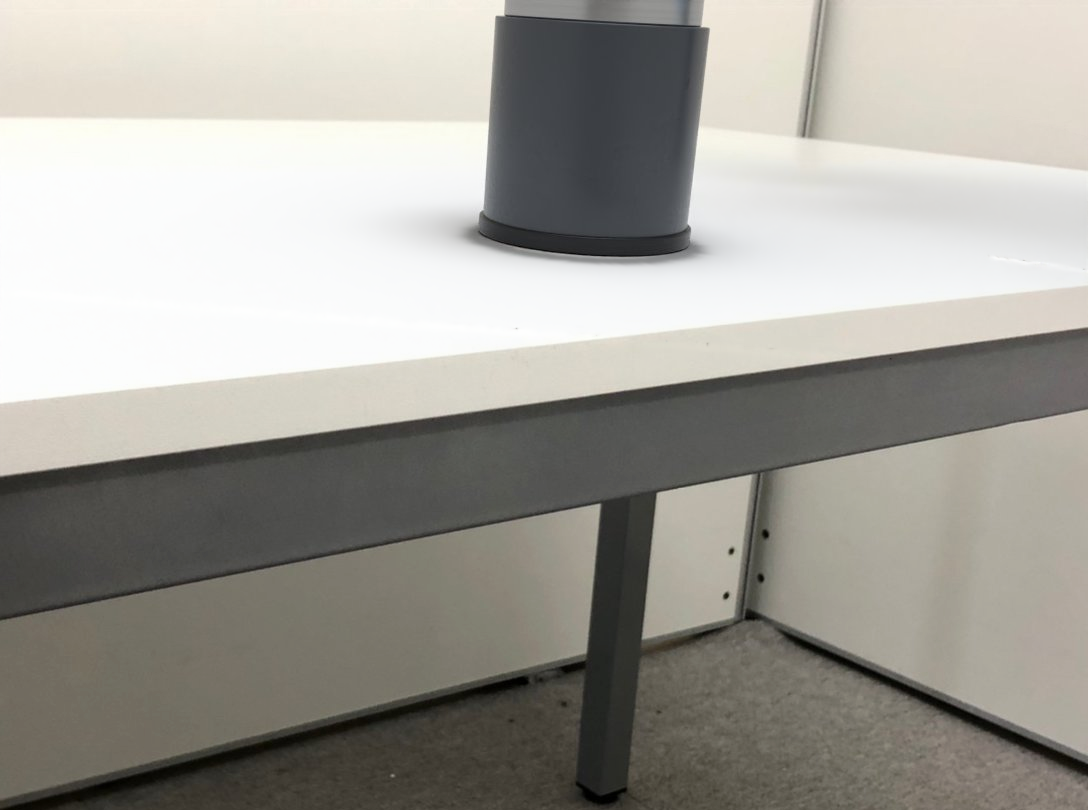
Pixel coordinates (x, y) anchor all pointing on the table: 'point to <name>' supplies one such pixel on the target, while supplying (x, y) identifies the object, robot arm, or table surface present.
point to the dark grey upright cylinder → (594, 125)
